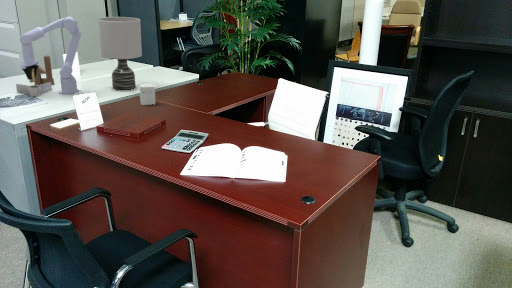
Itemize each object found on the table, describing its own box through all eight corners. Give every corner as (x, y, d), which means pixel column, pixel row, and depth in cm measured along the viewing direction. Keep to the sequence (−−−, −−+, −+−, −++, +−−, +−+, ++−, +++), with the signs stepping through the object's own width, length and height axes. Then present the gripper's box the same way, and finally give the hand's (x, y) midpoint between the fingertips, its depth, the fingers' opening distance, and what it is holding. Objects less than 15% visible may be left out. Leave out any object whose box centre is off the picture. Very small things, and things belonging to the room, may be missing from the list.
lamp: (105, 83, 289) (99, 16, 273) (143, 83, 295) (139, 17, 279) (102, 93, 268) (96, 21, 252) (143, 92, 274) (140, 22, 258)
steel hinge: (26, 88, 270) (24, 80, 269) (52, 89, 270) (51, 81, 268) (11, 95, 256) (9, 86, 254) (38, 96, 255) (37, 88, 253)
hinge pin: (31, 80, 261) (29, 67, 258) (37, 81, 261) (35, 68, 258) (27, 82, 257) (25, 69, 254) (33, 83, 257) (31, 70, 254)
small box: (154, 101, 257) (153, 84, 253) (155, 104, 252) (154, 86, 248) (140, 102, 255) (139, 84, 251) (141, 105, 250) (140, 87, 246)
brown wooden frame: (36, 83, 281) (32, 55, 275) (54, 83, 283) (50, 55, 277) (34, 85, 278) (30, 56, 271) (52, 85, 280) (49, 56, 273)
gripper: (28, 52, 260) (32, 75, 265) (14, 57, 246) (18, 81, 251) (40, 53, 259) (43, 76, 264) (26, 57, 246) (30, 81, 251)
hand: (31, 78), depth 258 cm, fingers closed on hinge pin, 4 cm apart
